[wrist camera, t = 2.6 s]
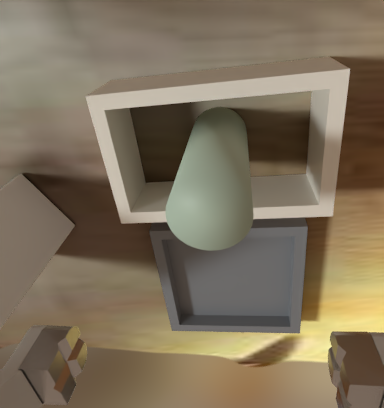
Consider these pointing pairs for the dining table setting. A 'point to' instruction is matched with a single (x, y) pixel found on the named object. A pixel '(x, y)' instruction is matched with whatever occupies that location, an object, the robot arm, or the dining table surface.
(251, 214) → the dowel pin
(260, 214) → the white open box
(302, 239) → the tray
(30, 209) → the milk carton
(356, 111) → the dining table surface
